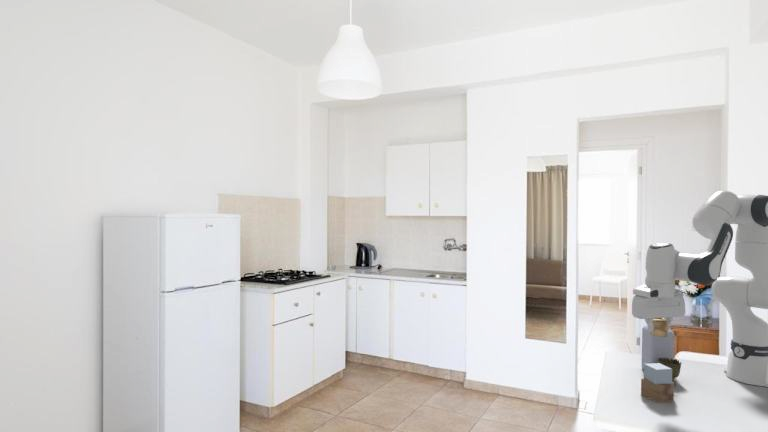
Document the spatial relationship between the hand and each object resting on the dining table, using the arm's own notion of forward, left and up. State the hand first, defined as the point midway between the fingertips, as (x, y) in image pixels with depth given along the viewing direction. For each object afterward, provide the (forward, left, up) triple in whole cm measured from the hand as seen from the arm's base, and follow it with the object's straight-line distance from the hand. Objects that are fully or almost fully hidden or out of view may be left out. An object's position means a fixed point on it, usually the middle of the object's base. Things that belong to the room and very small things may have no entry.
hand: (658, 330), depth 159 cm
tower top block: (0, 0, -17) cm, 17 cm away
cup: (-18, -11, -24) cm, 32 cm away
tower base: (0, 0, -23) cm, 23 cm away
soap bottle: (-22, -20, -24) cm, 38 cm away
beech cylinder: (0, 0, -2) cm, 2 cm away
